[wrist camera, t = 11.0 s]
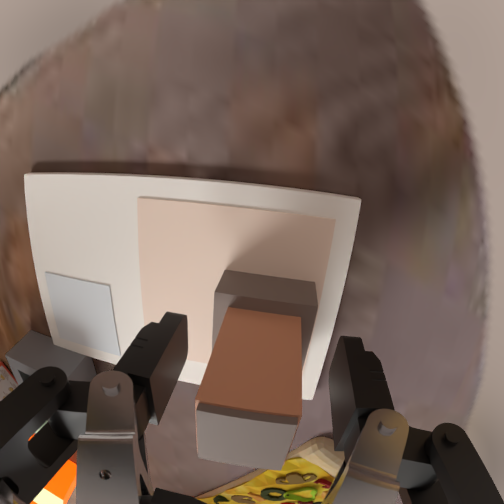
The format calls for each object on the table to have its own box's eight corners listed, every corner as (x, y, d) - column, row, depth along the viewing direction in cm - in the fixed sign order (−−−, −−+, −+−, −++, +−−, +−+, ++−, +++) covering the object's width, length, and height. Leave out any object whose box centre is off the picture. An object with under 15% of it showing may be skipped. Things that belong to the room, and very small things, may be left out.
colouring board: (358, 197, 14) (361, 200, 13) (311, 393, 18) (312, 401, 17) (30, 172, 15) (22, 174, 14) (58, 339, 19) (53, 345, 19)
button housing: (90, 350, 19) (64, 382, 16) (106, 405, 21) (88, 436, 18) (31, 329, 20) (4, 354, 16) (50, 384, 22) (30, 409, 19)
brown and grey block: (315, 281, 14) (328, 411, 7) (299, 352, 16) (297, 480, 9) (224, 269, 15) (170, 388, 8) (220, 341, 16) (179, 462, 9)
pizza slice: (389, 488, 24) (392, 510, 21) (227, 518, 30) (224, 536, 27) (341, 421, 20) (344, 453, 17) (142, 462, 26) (133, 484, 23)
